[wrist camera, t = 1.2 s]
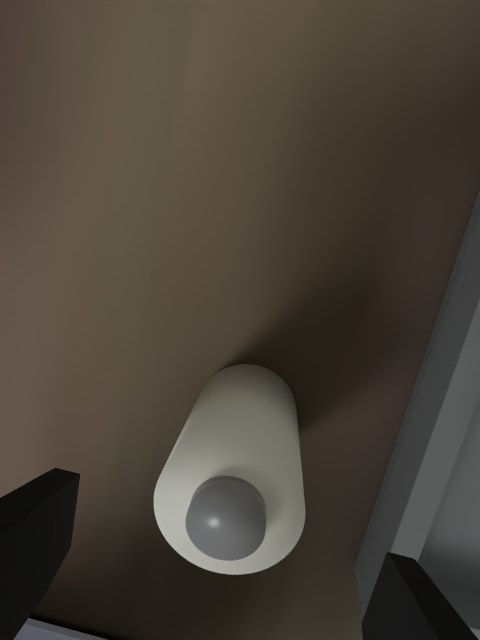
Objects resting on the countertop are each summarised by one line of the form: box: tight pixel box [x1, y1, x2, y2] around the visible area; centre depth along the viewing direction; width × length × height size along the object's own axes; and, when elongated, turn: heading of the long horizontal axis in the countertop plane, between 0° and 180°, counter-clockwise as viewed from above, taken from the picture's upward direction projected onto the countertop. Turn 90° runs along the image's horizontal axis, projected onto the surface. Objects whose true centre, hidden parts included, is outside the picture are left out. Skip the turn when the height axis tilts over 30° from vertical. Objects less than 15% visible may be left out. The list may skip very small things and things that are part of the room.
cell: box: [154, 364, 305, 575], centre depth 13 cm, size 4×4×7 cm
